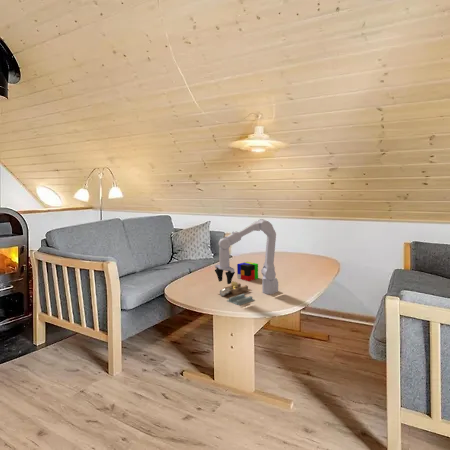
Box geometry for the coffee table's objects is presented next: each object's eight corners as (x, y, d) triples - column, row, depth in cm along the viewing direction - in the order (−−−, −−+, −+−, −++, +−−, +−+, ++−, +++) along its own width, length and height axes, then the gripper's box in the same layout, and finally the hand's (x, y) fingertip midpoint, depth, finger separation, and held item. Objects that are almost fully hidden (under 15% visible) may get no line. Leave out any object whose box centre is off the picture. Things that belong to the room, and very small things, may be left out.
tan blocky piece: (233, 291, 221) (233, 281, 220) (237, 292, 218) (237, 282, 218) (229, 292, 219) (229, 282, 218) (233, 293, 217) (233, 283, 216)
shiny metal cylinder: (229, 292, 219) (229, 286, 219) (233, 293, 217) (234, 288, 216) (219, 295, 214) (219, 289, 213) (223, 297, 211) (223, 291, 211)
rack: (242, 297, 212) (242, 293, 212) (254, 301, 205) (254, 297, 205) (226, 302, 205) (226, 297, 204) (239, 306, 197) (239, 302, 197)
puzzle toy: (237, 278, 252) (237, 264, 251) (247, 275, 259) (247, 261, 258) (247, 281, 245) (247, 266, 244) (258, 278, 252) (258, 263, 251)
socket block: (241, 288, 230) (241, 282, 229) (252, 291, 223) (252, 285, 222) (217, 295, 216) (217, 288, 216) (227, 299, 210) (227, 292, 209)
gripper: (210, 258, 214) (211, 281, 216) (227, 262, 203) (228, 286, 205) (220, 256, 219) (220, 278, 221) (237, 260, 208) (237, 283, 210)
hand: (224, 282), depth 213 cm, fingers open, 7 cm apart
